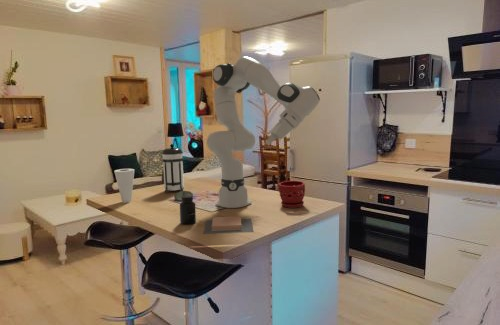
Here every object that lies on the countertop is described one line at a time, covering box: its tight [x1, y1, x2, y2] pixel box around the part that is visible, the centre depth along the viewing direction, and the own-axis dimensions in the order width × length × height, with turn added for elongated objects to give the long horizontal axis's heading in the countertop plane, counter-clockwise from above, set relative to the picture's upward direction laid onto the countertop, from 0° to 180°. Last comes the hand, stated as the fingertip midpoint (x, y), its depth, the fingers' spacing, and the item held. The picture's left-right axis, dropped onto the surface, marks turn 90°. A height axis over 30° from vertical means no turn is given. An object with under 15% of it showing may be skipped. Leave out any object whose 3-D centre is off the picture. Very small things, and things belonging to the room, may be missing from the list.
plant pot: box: [278, 180, 306, 209], centre depth 174 cm, size 13×13×12 cm
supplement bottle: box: [179, 195, 197, 226], centre depth 150 cm, size 7×7×12 cm
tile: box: [212, 215, 242, 231], centre depth 143 cm, size 12×2×12 cm
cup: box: [113, 168, 136, 204], centre depth 190 cm, size 11×11×18 cm
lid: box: [174, 190, 194, 202], centre depth 194 cm, size 11×10×5 cm
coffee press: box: [161, 143, 185, 194], centre depth 213 cm, size 17×16×30 cm
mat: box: [202, 217, 254, 235], centre depth 144 cm, size 18×20×1 cm
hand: (266, 143), depth 146 cm, fingers closed
